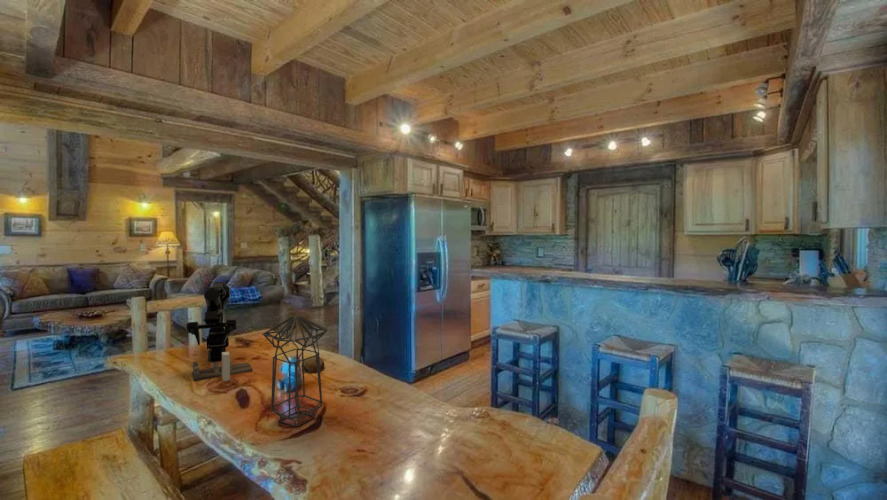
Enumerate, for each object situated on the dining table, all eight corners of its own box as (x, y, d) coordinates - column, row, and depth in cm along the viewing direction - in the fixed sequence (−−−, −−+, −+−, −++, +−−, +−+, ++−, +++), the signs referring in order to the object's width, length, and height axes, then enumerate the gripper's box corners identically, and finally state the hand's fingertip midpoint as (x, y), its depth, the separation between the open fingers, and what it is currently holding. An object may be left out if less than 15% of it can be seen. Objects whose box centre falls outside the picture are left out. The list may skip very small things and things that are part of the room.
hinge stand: (192, 373, 170) (192, 362, 170) (248, 364, 183) (248, 353, 182) (194, 381, 161) (194, 369, 161) (252, 371, 174) (252, 360, 173)
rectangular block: (221, 378, 165) (221, 352, 164) (230, 376, 167) (230, 351, 166) (223, 381, 161) (223, 355, 160) (232, 380, 163) (232, 354, 162)
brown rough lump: (299, 378, 176) (294, 364, 172) (312, 362, 184) (307, 349, 181) (318, 381, 173) (313, 367, 169) (330, 364, 182) (326, 351, 178)
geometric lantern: (331, 416, 131) (331, 313, 129) (292, 437, 118) (291, 323, 115) (300, 405, 139) (299, 308, 137) (259, 423, 125) (258, 316, 123)
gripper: (186, 304, 166) (182, 338, 157) (236, 301, 173) (234, 334, 165) (190, 316, 174) (186, 349, 165) (237, 313, 182) (236, 344, 173)
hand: (211, 344), depth 167 cm, fingers open, 9 cm apart
